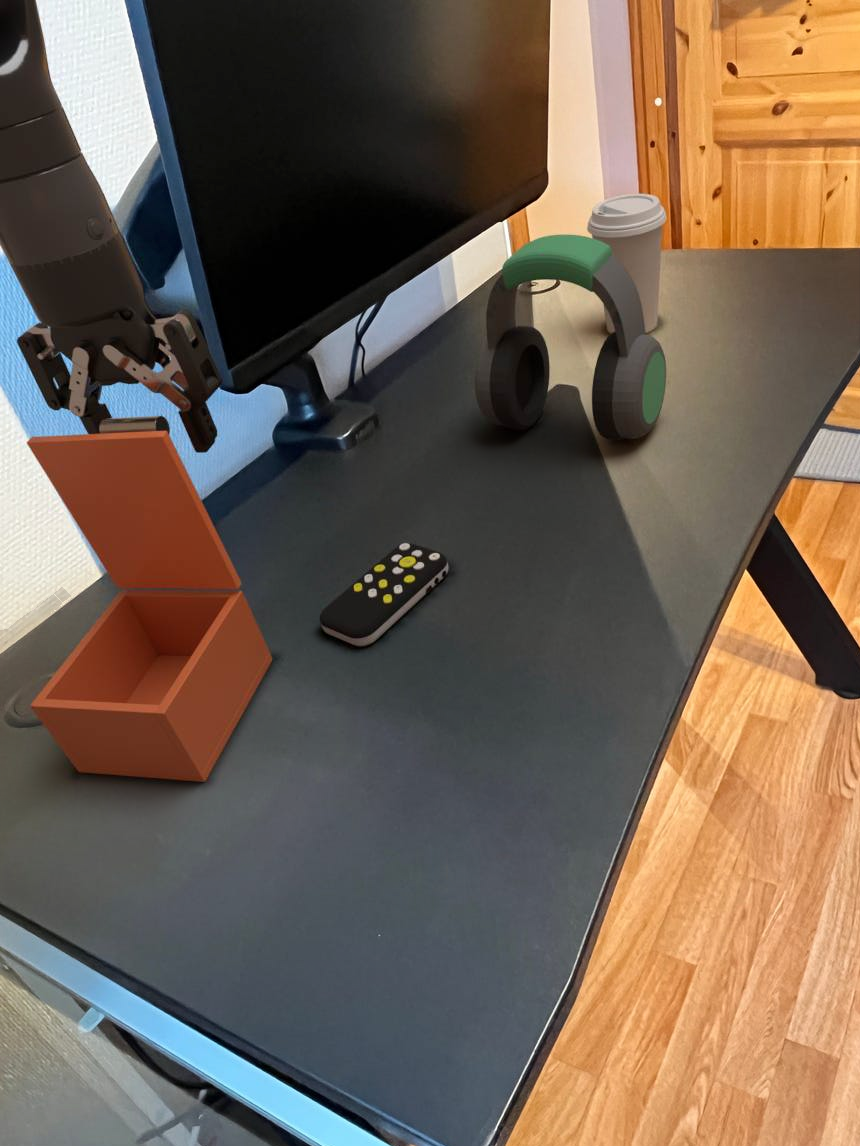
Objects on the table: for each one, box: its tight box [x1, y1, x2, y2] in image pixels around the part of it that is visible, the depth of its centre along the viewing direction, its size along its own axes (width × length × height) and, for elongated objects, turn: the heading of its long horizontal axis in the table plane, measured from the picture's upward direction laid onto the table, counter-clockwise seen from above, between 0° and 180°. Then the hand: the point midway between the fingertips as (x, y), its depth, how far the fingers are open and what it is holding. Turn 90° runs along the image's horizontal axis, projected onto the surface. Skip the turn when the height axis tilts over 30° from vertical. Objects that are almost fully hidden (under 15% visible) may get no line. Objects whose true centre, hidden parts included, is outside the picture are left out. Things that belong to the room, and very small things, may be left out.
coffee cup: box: [586, 193, 668, 334], centre depth 109 cm, size 10×10×15 cm
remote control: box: [319, 542, 449, 647], centre depth 79 cm, size 6×13×2 cm, turn 143°
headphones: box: [474, 234, 667, 441], centre depth 91 cm, size 19×11×20 cm, turn 63°
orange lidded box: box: [29, 589, 274, 783], centre depth 71 cm, size 14×12×8 cm
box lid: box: [26, 415, 242, 590], centre depth 69 cm, size 14×12×5 cm
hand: (159, 449), depth 70 cm, fingers open, 8 cm apart
